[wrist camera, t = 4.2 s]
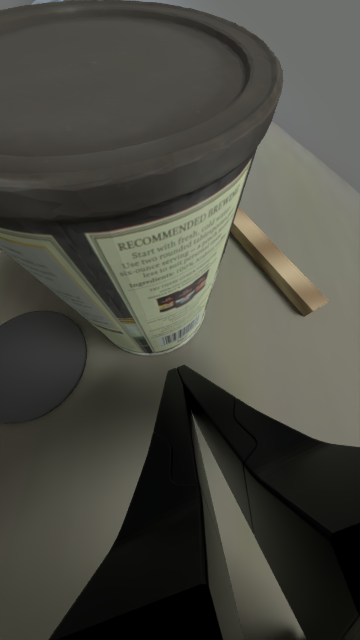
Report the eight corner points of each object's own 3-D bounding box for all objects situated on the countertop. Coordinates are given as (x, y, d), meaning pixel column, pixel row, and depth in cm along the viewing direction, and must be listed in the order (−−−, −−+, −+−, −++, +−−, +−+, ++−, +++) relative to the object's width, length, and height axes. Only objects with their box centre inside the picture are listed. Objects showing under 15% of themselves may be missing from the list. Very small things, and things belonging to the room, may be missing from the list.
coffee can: (138, 245, 20) (69, -19, 7) (223, 286, 19) (331, 32, 6) (73, 321, 17) (-269, 75, 4) (169, 380, 15) (126, 288, 2)
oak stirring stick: (316, 309, 18) (329, 301, 17) (301, 318, 18) (313, 311, 16) (233, 218, 23) (237, 206, 21) (220, 224, 22) (223, 211, 21)
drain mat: (95, 396, 15) (93, 397, 14) (-31, 442, 13) (-37, 443, 13) (78, 300, 18) (76, 298, 17) (-25, 330, 16) (-30, 328, 16)
